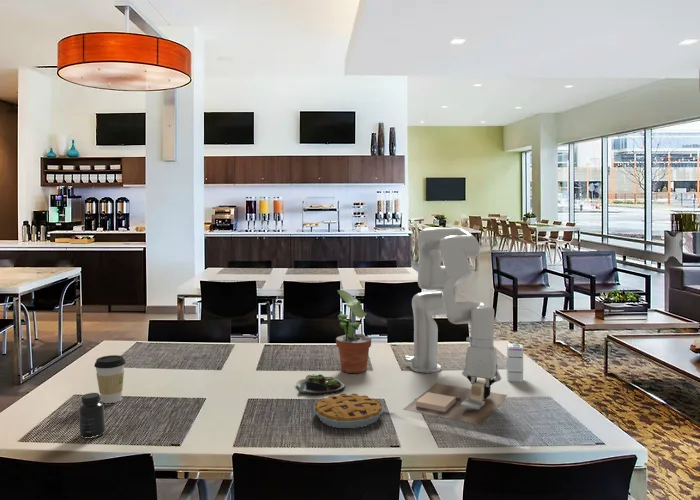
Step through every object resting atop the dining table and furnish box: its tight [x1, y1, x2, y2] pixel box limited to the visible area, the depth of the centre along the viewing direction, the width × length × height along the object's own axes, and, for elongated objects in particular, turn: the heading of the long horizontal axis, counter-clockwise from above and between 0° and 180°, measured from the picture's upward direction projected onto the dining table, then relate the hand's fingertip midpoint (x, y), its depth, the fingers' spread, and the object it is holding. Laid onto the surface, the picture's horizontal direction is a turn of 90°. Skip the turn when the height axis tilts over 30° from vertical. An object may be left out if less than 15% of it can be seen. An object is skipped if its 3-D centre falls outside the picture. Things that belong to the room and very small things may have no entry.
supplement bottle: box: [78, 392, 106, 437], centre depth 166 cm, size 7×7×12 cm
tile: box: [416, 392, 456, 413], centre depth 185 cm, size 10×2×10 cm
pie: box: [313, 393, 384, 429], centre depth 179 cm, size 22×22×5 cm
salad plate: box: [296, 373, 346, 396], centre depth 209 cm, size 19×18×5 cm
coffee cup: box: [94, 354, 126, 403], centre depth 193 cm, size 10×10×15 cm
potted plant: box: [335, 289, 372, 374], centre depth 226 cm, size 16×15×35 cm
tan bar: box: [461, 378, 492, 410], centre depth 185 cm, size 18×6×5 cm, turn 150°
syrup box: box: [506, 343, 524, 383], centre depth 212 cm, size 6×6×14 cm
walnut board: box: [402, 382, 508, 426], centre depth 188 cm, size 26×30×2 cm
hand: (480, 396), depth 188 cm, fingers closed on tan bar, 3 cm apart
